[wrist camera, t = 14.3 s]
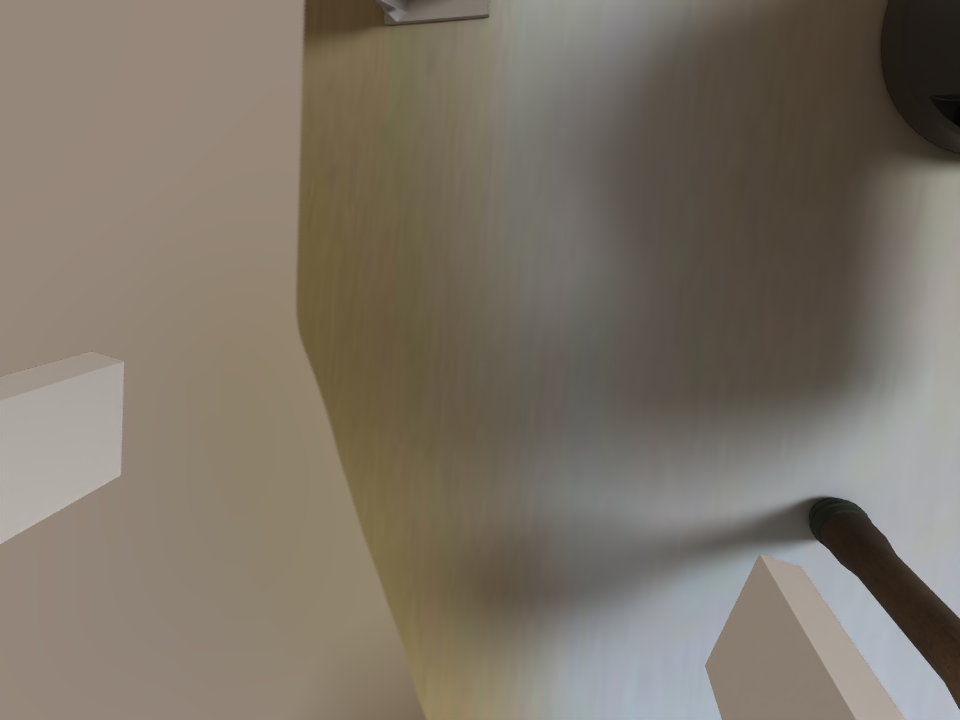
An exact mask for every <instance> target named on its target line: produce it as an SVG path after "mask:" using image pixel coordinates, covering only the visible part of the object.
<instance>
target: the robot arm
mask: <svg viewBox="0 0 960 720" xmlns="http://www.w3.org/2000/svg"><path fill="white" fill-rule="evenodd" d="M881 52H882V65H883V72H884V77H885V81H886V84H887V87H888V90H889V93H890V95H891V98H892V100H893V102H894V104H895V106H896V107H897V109H898V110H899V112H900V113H901V115H902V116H903V117H904V119H905V120H906V121H907V122H908V123H909V124H910V125H911V126H912V128H914V129H915V130H916V131H917V132H918V133H919V134H921V135H922V136H923V137H925V138H926V139H928V140H929V141H931V142H933V143H934V144H936V145H938V146H940V147H943V148H945V149H948V150H950V151H953V152H956V153H960V0H890V1H889V4H888V7H887V11H886V15H885V20H884V25H883V32H882V47H881ZM123 385H124V361H121V360H118V359H115V358H112V357H108V356H105V355H102V354H98V353H95V352H92V351H91V352H87V353H84V354H80V355H76V356H73V357H69V358H66V359H62V360H58V361H55V362H51V363H48V364H44V365H40V366H36V367H33V368H29V369H26V370H22V371H19V372H15V373H11V374H8V375H4V376H0V544H1V543H3V542H5V541H6V540H8V539H10V538H12V537H13V536H15V535H17V534H19V533H20V532H22V531H24V530H26V529H27V528H29V527H31V526H33V525H34V524H36V523H38V522H40V521H41V520H43V519H45V518H47V517H48V516H50V515H52V514H54V513H55V512H57V511H59V510H61V509H62V508H64V507H66V506H68V505H69V504H71V503H73V502H75V501H76V500H78V499H80V498H82V497H83V496H85V495H87V494H89V493H90V492H92V491H94V490H96V489H97V488H99V487H101V486H103V485H104V484H106V483H108V482H110V481H111V480H113V479H115V478H117V477H118V476H120V475H121V449H122V419H123V418H122V417H123ZM705 667H706V670H707V673H708V676H709V679H710V683H711V686H712V689H713V692H714V695H715V699H716V702H717V705H718V708H719V711H720V715H721V718H722V720H906V719H905V718H904V716H903V715H902V713H901V712H900V710H899V709H898V707H897V706H896V705H895V703H894V702H893V700H892V699H891V697H890V696H889V694H888V693H887V691H886V690H885V688H884V687H883V685H882V684H881V683H880V681H879V680H878V678H877V677H876V675H875V674H874V672H873V671H872V669H871V668H870V666H869V665H868V663H867V662H866V660H865V659H864V658H863V656H862V655H861V653H860V652H859V650H858V649H857V647H856V646H855V644H854V643H853V641H852V640H851V638H850V637H849V636H848V634H847V633H846V631H845V630H844V628H843V627H842V625H841V624H840V622H839V621H838V619H837V618H836V616H835V615H834V614H833V612H832V611H831V609H830V608H829V606H828V605H827V603H826V602H825V600H824V599H823V597H822V596H821V594H820V593H819V591H818V590H817V589H816V587H815V586H814V584H813V583H812V581H811V580H810V578H809V577H808V575H807V574H806V572H805V571H804V569H803V568H802V567H801V566H798V565H794V564H791V563H788V562H784V561H781V560H778V559H775V558H771V557H768V556H765V555H761V554H759V556H758V558H757V560H756V563H755V565H754V567H753V569H752V571H751V573H750V575H749V577H748V579H747V581H746V583H745V585H744V587H743V589H742V591H741V593H740V595H739V597H738V599H737V601H736V603H735V605H734V607H733V609H732V612H731V614H730V616H729V618H728V620H727V622H726V624H725V626H724V628H723V630H722V632H721V634H720V636H719V638H718V640H717V642H716V644H715V646H714V648H713V650H712V652H711V654H710V656H709V659H708V661H707V663H706V665H705Z"/></svg>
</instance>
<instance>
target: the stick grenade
mask: <svg viewBox="0 0 960 720" xmlns="http://www.w3.org/2000/svg"><path fill="white" fill-rule="evenodd" d="M809 521H810V528H811V530H812V533H813V534H814V536H815V538H816V539H817V540H818V541H819V542H820V543H821V544H823V545H824V546H825V547H826V548H828V549H829V550H830V551H831V553H832V554H833V555H834V556H835V557H836V559H837V560H838V561H839V562H840V563H841V564H842V565H843V566H844V567H846V568H847V569H848V570H850V571H851V572H852V573H854V574H855V575H856V576H857V577H858V578H859V579H860V580H861V581H862V583H863V584H864V585H865V586H866V587H867V589H868V590H869V591H870V592H871V594H872V595H873V596H874V597H875V598H876V600H877V601H878V602H879V603H880V604H881V606H882V607H883V608H884V609H885V611H886V612H887V613H888V614H889V615H890V617H891V618H892V619H893V620H894V622H895V623H896V624H897V625H898V626H899V628H900V629H901V630H902V631H903V632H904V634H905V635H906V636H907V637H908V639H909V640H910V641H911V642H912V643H913V645H914V646H915V647H916V648H917V649H918V651H919V652H920V653H921V654H922V656H923V657H924V658H925V659H926V660H927V662H928V663H929V664H930V665H931V667H932V668H933V669H934V670H935V671H936V673H937V674H938V675H939V676H940V677H941V679H942V680H943V681H944V682H945V684H946V686H947V688H948V690H949V691H950V693H951V695H952V697H953V699H954V701H955V702H956V704H957V706H958V708H959V709H960V618H959V617H958V616H957V615H956V614H955V613H954V612H953V611H952V610H951V609H950V608H949V607H948V606H947V605H946V604H945V603H944V602H943V601H942V600H941V599H940V598H939V597H938V596H937V595H936V594H935V593H934V592H933V591H932V590H931V589H930V588H929V587H928V586H927V585H926V584H925V583H924V582H923V581H922V580H921V579H920V578H919V577H918V576H917V575H916V574H915V573H914V572H913V571H912V570H911V569H910V568H909V567H908V566H907V565H906V564H905V563H904V562H903V561H902V560H901V559H900V558H899V557H898V556H897V555H896V553H895V552H894V550H893V548H892V547H891V545H890V543H889V541H888V540H887V538H886V537H885V536H884V535H883V534H882V533H881V532H880V531H879V530H878V529H877V528H876V527H875V526H874V525H873V524H872V522H871V520H870V519H869V518H868V516H867V514H866V513H865V512H864V511H863V510H862V509H861V508H860V507H858V506H857V505H856V504H854V503H852V502H850V501H848V500H843V499H839V498H830V499H825V500H823V501H821V502H819V503H817V504H816V505H815V506H814V507H813V508H812V510H811V512H810V516H809Z"/></svg>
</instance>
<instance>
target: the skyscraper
mask: <svg viewBox="0 0 960 720" xmlns="http://www.w3.org/2000/svg"><path fill="white" fill-rule="evenodd" d="M374 1H375V2H376V3H378V4H379V5H380V6H381V8H382V10H383V12H384V23H385V24H386V25H398V24H410V23H422V22H434V21H446V20H458V19H470V18H482V17H489V0H374Z"/></svg>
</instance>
